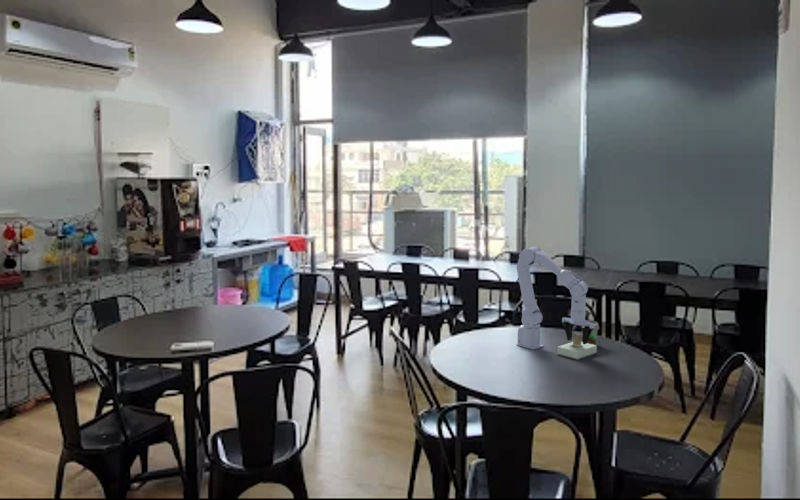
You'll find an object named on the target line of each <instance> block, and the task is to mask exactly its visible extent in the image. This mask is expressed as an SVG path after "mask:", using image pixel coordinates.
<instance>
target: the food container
mask: <svg viewBox="0 0 800 500" xmlns="http://www.w3.org/2000/svg"><path fill="white" fill-rule="evenodd" d="M585 321H588V322H591V323H594V328H593V330H592V332H591V334H590V336H589V338H588V342H587V343H589V344H593V345H597V339H598V331H599V329H600V325H599V322H597V321H593V320H589V319H585ZM582 328H585V327H584V326H581V329H582ZM581 342H583V333H582V332H581Z"/></svg>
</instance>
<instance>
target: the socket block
mask: <svg viewBox="0 0 800 500" xmlns="http://www.w3.org/2000/svg"><path fill="white" fill-rule="evenodd" d="M556 348H557V350H556V351H557V352H556V353H557V354H556V355H557V356H561V357H564V358H567V359H568V358H569V359H572V360H576V361H578V360H582V359H585V358H588V357H590V356H593V355H596V354H597V351H598V350H597V349H598V346H597V344H596V345H593V344H589V343H587V344H583V342H582V341H581V347H580V348H576V347H573V341H571V342H568V343H565V344H562V345H559V346H556Z"/></svg>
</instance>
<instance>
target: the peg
mask: <svg viewBox="0 0 800 500" xmlns="http://www.w3.org/2000/svg"><path fill="white" fill-rule="evenodd" d="M572 342H573V347H576V348H580V347H581V342H582V333H572Z"/></svg>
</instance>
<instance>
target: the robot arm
mask: <svg viewBox="0 0 800 500" xmlns="http://www.w3.org/2000/svg"><path fill="white" fill-rule="evenodd" d="M518 257H519V258H518V260H517V264H516V271H517V273H516V274H517V277H518V282H519V287H520V294H521V298H522V305H523V307H522V310H521V323H522V324H521V325H520V326H519V327H518V329H517V343H516V344H515V345H516V346H519V347H521V348H522V347H523V348H525V349H526V348H527V349H528V350H537V349H540V348H543V347H545V345H544V344H541V323H542V321H543V320H544V319H543V318H544V317H543V314H542V312H541V310H540V307H539V306H538V304H537V303H536V297H535V292H534V287H533V286H534V285H533V281H532V276H531V271H530V269H532V267H533V265H534V264H541V265H543V266H544V267H546V268H547V269H548V270H550V271H551V272H552V273H554V275H556V279H557V281H559V282H560V283H561V284H562V285H563V286H564V287H565V288H567V289H568V290H569V292H570V295H571V307H570V308H571V309H570V310H571V311H570V317H565V316H564V317H562V318H561V323H562V327H563V329H564V332H565V335H566V338H567V341H571V340H572V341H573V329H574V325H575V326H579V327H581V334H582V333H583V344H587V342H588V338H589V336H590V334H591V332H592V330H593V328H594V323H591V322H588V321H585V320H586V307H587V306H586V302H587V300H586V298H587V293H588V291H589V286H588V284H587V283H586V282H585V281H583V280H581V279H580V278H577V277H576V276H575V275H573V274H572V271H571V270H568V269H563V268H561V266H560V265H558V264H557V263H556V262H555V261H554V260H553V259H552V258H551V257H550V256H549V255H547V253H546V252H545V250H542V249H541V247H539V246H536V245H534V246H531V247H527V248H524V249H522V251H521V252H520V253H519V254H518ZM582 326H584V327H585V328H582Z"/></svg>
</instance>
